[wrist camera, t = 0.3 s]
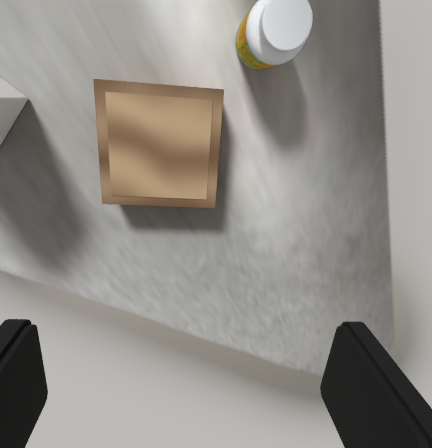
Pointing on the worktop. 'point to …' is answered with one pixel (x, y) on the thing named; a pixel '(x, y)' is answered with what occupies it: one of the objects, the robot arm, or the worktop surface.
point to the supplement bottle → (273, 32)
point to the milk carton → (9, 107)
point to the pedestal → (158, 143)
